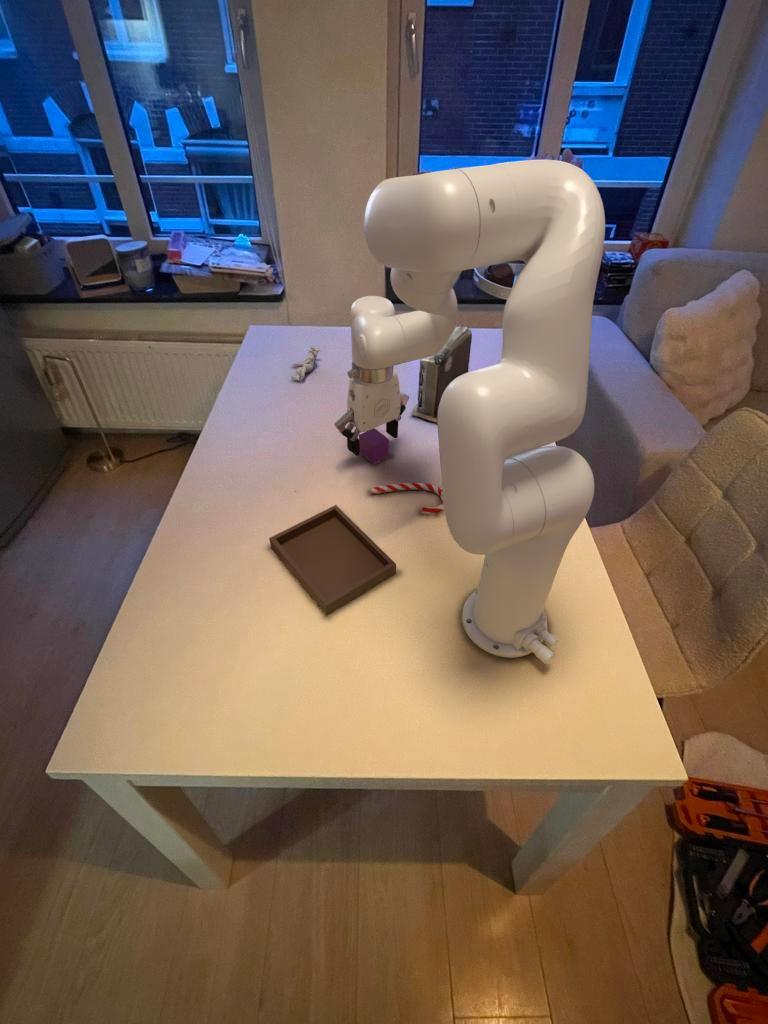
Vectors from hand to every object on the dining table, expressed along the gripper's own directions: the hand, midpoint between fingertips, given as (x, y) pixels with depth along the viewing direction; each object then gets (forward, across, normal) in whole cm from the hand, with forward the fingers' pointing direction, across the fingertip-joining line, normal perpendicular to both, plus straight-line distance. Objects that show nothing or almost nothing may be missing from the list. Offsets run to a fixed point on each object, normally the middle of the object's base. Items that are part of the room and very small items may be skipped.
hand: (373, 443), depth 108 cm
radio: (+3, +26, +8) cm, 27 cm away
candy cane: (+2, -3, -15) cm, 16 cm away
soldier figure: (+3, +7, +38) cm, 38 cm away
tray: (+2, -23, -19) cm, 30 cm away
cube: (+2, 0, 0) cm, 3 cm away
